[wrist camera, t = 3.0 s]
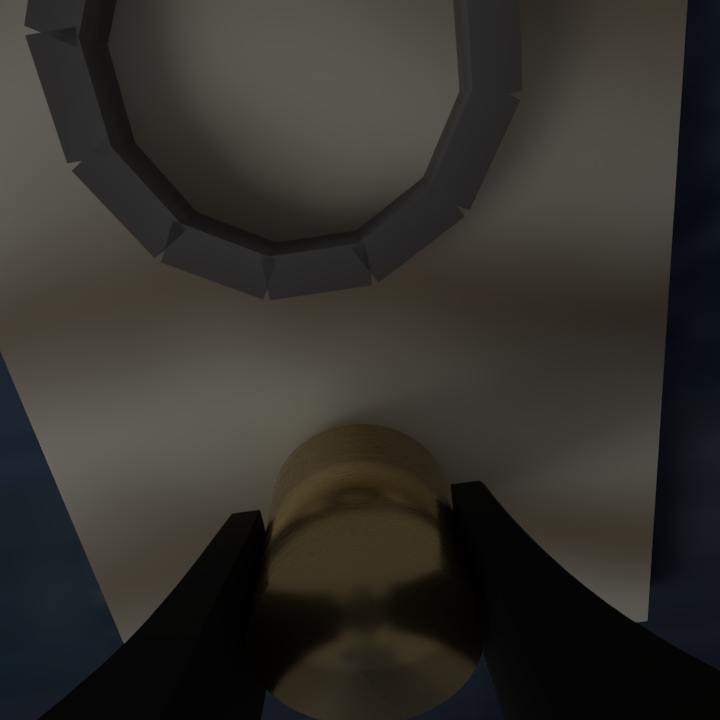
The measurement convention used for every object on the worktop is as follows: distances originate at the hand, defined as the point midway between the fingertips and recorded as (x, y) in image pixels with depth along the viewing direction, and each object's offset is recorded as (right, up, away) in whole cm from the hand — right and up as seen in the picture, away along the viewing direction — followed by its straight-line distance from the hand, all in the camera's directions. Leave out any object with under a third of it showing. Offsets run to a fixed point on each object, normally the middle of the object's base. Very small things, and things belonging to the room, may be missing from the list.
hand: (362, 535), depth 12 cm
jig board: (-1, +5, +1) cm, 5 cm away
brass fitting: (0, 0, +1) cm, 1 cm away
